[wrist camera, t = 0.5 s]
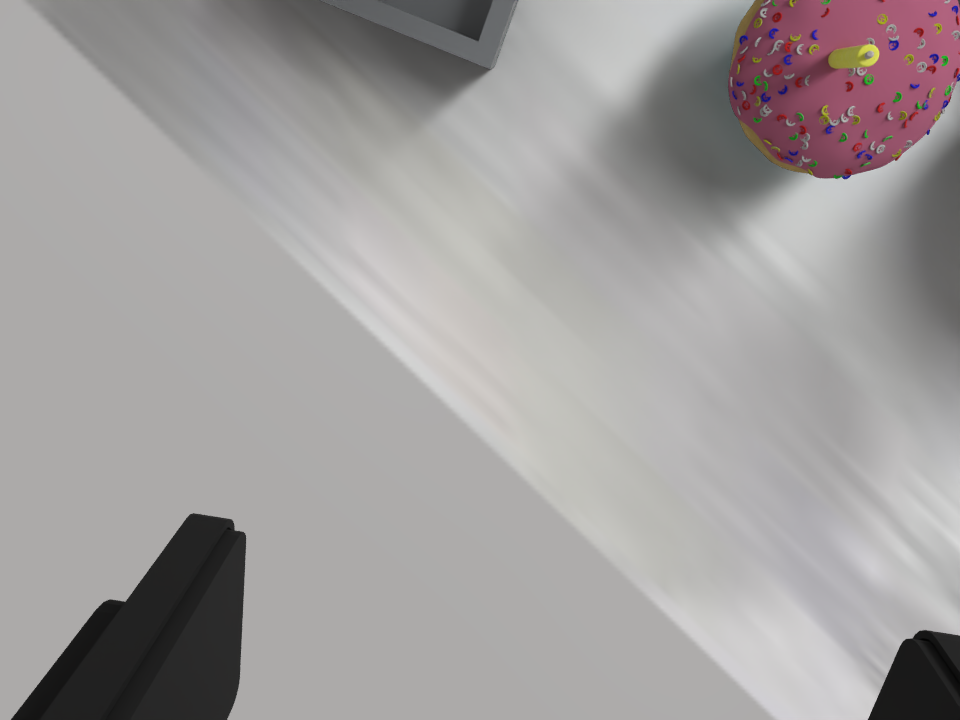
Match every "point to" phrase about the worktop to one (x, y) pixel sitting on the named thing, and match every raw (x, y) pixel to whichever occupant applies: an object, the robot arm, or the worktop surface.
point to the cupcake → (843, 79)
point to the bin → (443, 23)
